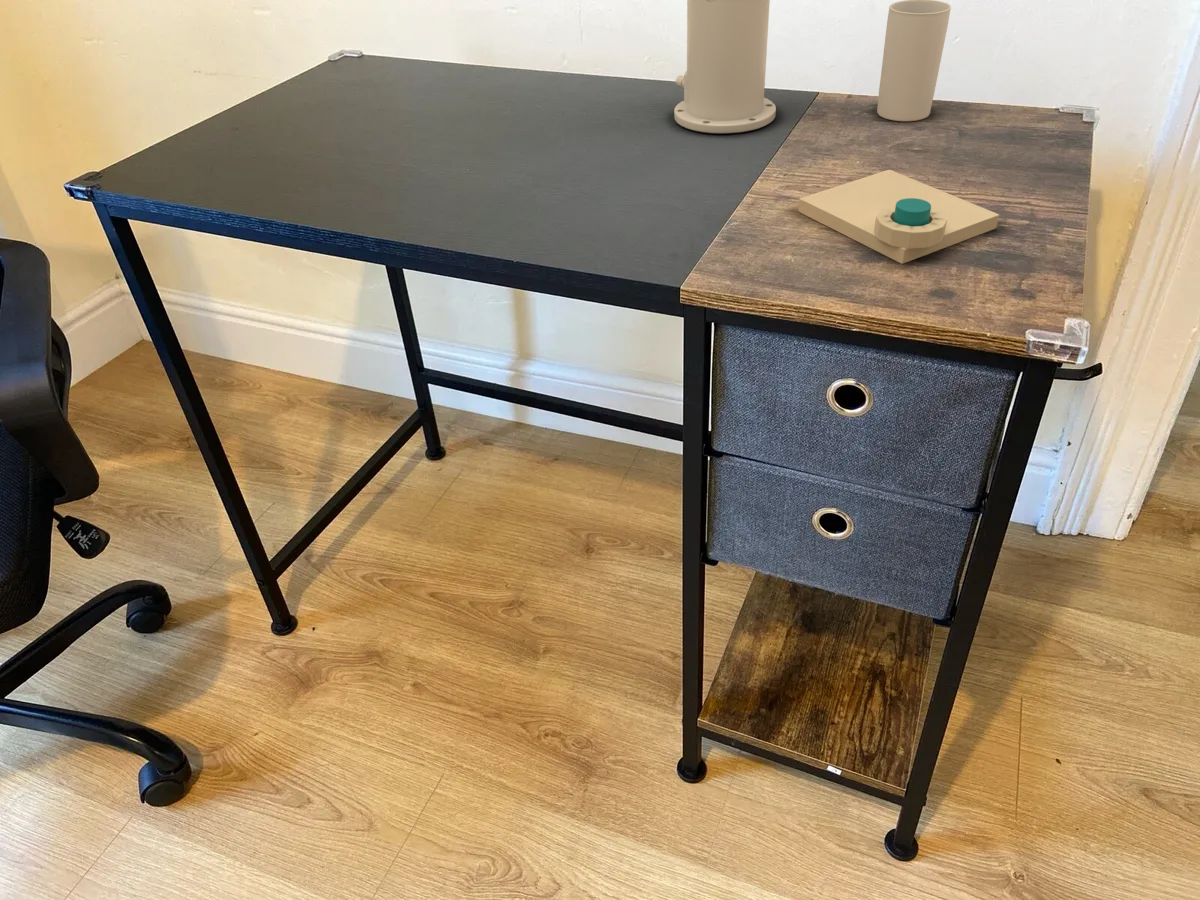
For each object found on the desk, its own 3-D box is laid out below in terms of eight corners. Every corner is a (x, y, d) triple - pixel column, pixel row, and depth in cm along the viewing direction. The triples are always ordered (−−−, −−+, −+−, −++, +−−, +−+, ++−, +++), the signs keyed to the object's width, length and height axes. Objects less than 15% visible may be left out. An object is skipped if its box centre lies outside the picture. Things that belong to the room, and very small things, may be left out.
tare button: (886, 219, 79) (888, 203, 78) (910, 211, 80) (913, 195, 79) (910, 231, 77) (913, 214, 76) (935, 222, 78) (938, 206, 77)
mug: (923, 125, 104) (942, 15, 96) (867, 118, 107) (881, 11, 99) (944, 100, 110) (964, -5, 103) (891, 94, 113) (906, -9, 106)
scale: (794, 212, 87) (797, 183, 85) (887, 182, 92) (891, 154, 90) (906, 269, 77) (912, 237, 75) (1004, 232, 81) (1012, 201, 80)
